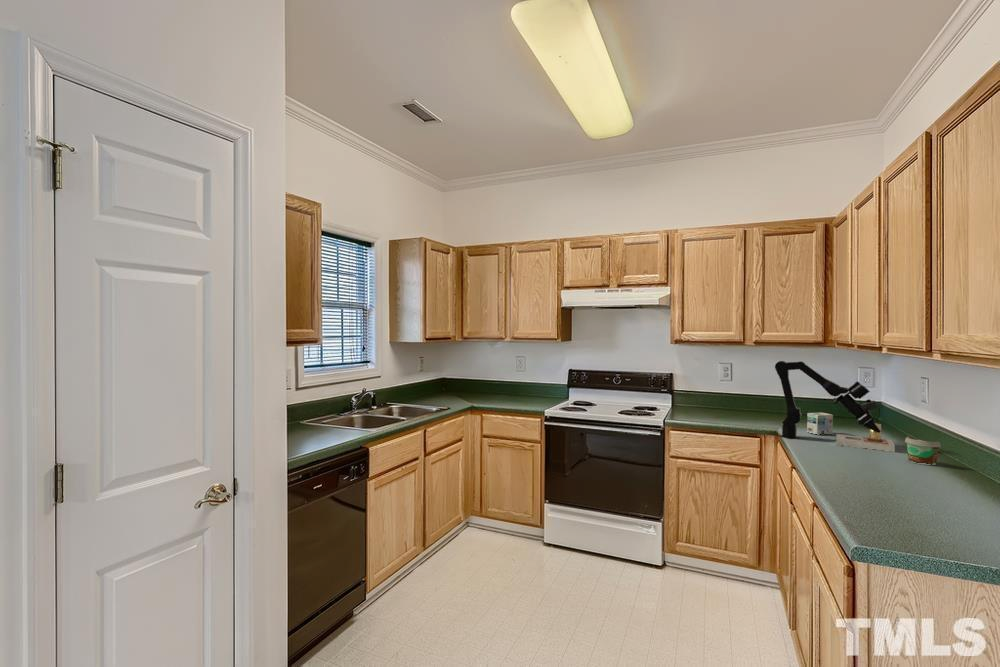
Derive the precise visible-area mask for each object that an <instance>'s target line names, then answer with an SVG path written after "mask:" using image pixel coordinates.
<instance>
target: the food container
mask: <svg viewBox="0 0 1000 667" xmlns="http://www.w3.org/2000/svg"><path fill="white" fill-rule="evenodd" d="M904 442H905V443H906V447H907V448H906V450H907V457H908V459H907V460H908V461H909V460H910V461H913V462H916V463H926V464H933V463H936V464H937V460H938V455H939V448H941V447H942V446H941V443H940V441H928V440H925V439H916V438H910V436H909V435H908V436H906V437H905V440H904ZM910 461H909V462H910ZM916 463H915V464H916Z"/></svg>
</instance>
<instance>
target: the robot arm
mask: <svg viewBox="0 0 1000 667" xmlns="http://www.w3.org/2000/svg"><path fill="white" fill-rule="evenodd" d="M774 368H775V369H774V370H775V371H776V373H777V375H778V378H779V380H780V383H781V386H782V391H783V392H782V393H783V395H784V399H785V404H786V417H785V418H784V419H782V425H781V428H782V430H781V431H782V432H781V433H782V434H779V437H782V438H786V439H790V440H791V439H792V440H793V439H799V438H800V437H799V436H797V425H796V424H799V422H800V421H801V418H802V417H803V415H802V412H801V407H798V406H797V405H796V403H795V402H796V401H795V398H794V394H793V390H792V387H791V386H792V385H791V381H790V377H789V376H790V375H789V374H790V373H789V372H790V371H792V370H793V371H794V370H800V372H803V373H804V374H805V375H807V376H808V377H810V379H812V380H814V381H815V382H816V383H818V384H819V385H820V386H821V387H822V388H823V389H824V390H825V391H826V393H828V394H829V395H830V396H833V403H834V405H836V404H838V403H840V404H841V406H842V407H843V408H844V409H845V410H847V412H848V413H850V414H851V415H852V416H853V417H854V418H855V419H856V420H857V423H858V424H859V425H860V426H861V427H865V428H866V429H869V430H870V429H871V430H873V431H876V432H878V433H880V432H881V433H882V430H881V431H880V430H879V428H878V427H877V426H876V424H877V423H876V422H875V420H874V416H873V415H872V412H871V411H872V410H873V409H874V410H876V409H878V408H879V406H878V405H877V402H876V401H875V400H871V399H870V398H869V399H866V400H865V402H864V403H860V402H858V401H856V399H859V400H860V399H861V398H863V397H865V396H866V395H867V394H869V393H870V390H869V389H868V388H867V387H866V386H865V385H863V384H861V383H860V382H859V381H858V380H857V381H855V382H854V384H852V385H851V386H849V387H845V386H840V385H839V384H837V383H836V382H834V381H832V380H829V379H827V378H825V377H824V376H822V374H820V373H819V372H817V371H816V370H814V369H813V368H811V367H810V366H809V365H808V364H806V363H805V361H788V362H786V361H784V360H779V361H777V362H776V363H775V365H774ZM843 394H844V395H843ZM875 423H876V424H875Z"/></svg>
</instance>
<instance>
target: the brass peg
mask: <svg viewBox="0 0 1000 667" xmlns="http://www.w3.org/2000/svg"><path fill="white" fill-rule="evenodd" d="M875 424H876V426H877V427H878V428H879V430H880V431H881V432H880V433H878V432H876V431H873V430H871V429H869V434H868V435H869V441H875V442H881V439H882V424H881V423H877V422H875Z"/></svg>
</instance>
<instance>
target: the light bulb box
mask: <svg viewBox="0 0 1000 667" xmlns="http://www.w3.org/2000/svg"><path fill="white" fill-rule="evenodd" d="M806 415H807V420H806V421H807V422H806V433H807V432H809V433H808V434H810V433H813V434H812V435H814V434H817V435H816V436H821V435H820V434H832V435H833V424H834V420H833V419H834V415H833V414H831V413H827V412H807V414H806Z"/></svg>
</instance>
